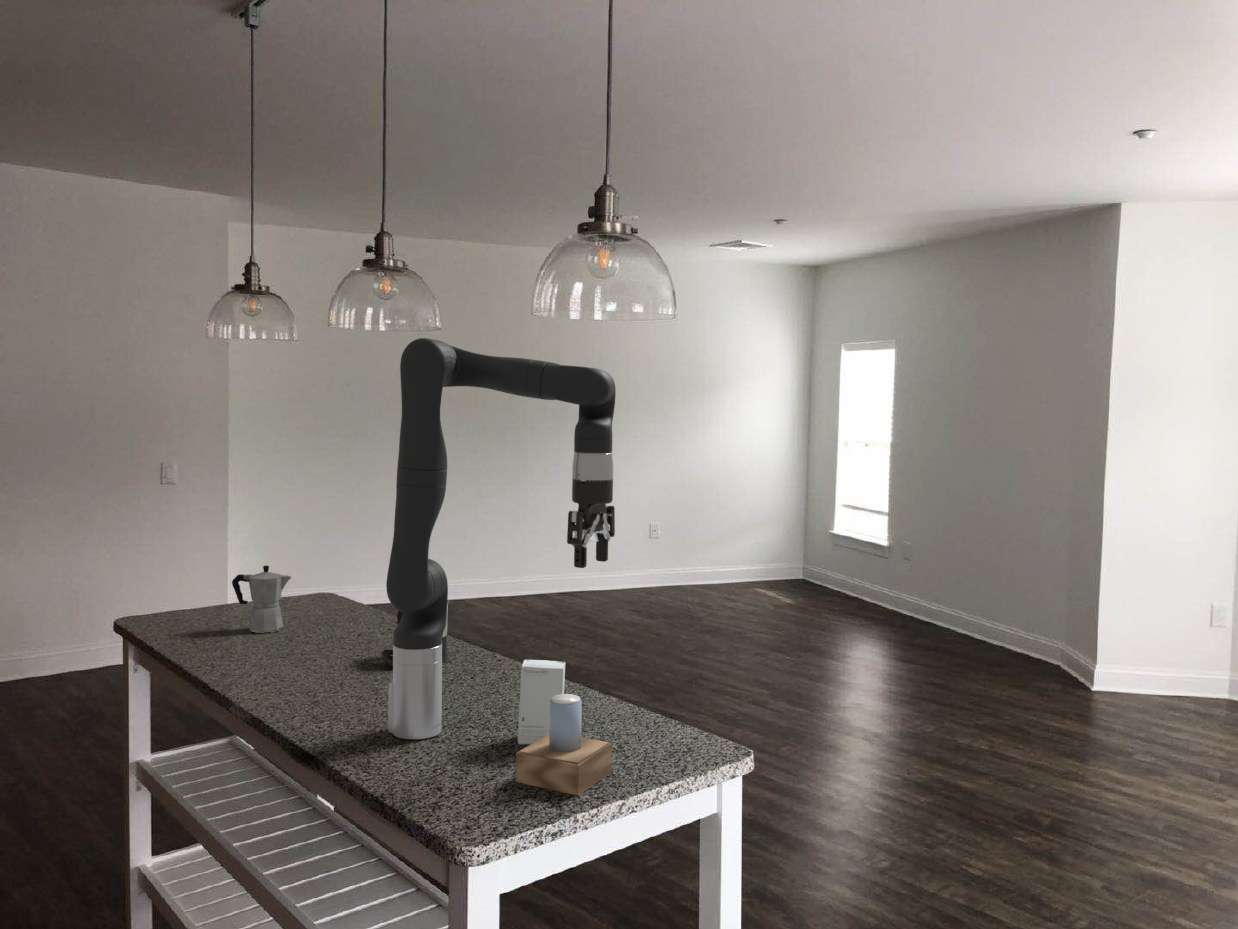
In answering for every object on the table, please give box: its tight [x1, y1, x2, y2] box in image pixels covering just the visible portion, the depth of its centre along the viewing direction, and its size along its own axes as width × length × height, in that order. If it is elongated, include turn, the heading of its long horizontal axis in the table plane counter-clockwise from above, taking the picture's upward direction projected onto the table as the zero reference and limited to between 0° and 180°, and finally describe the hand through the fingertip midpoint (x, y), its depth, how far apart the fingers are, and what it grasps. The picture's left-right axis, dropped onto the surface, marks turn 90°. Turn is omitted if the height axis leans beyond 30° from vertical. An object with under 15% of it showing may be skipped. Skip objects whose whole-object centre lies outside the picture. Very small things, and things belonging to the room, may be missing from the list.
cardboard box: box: [515, 734, 613, 796], centre depth 168 cm, size 12×12×5 cm
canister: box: [549, 693, 583, 752], centre depth 167 cm, size 5×5×8 cm
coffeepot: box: [231, 565, 292, 631], centre depth 271 cm, size 15×9×18 cm, turn 103°
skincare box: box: [517, 659, 566, 745], centre depth 186 cm, size 8×6×15 cm
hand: (591, 564), depth 182 cm, fingers open, 8 cm apart
